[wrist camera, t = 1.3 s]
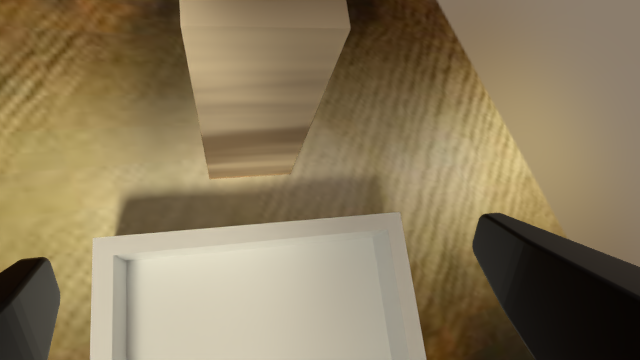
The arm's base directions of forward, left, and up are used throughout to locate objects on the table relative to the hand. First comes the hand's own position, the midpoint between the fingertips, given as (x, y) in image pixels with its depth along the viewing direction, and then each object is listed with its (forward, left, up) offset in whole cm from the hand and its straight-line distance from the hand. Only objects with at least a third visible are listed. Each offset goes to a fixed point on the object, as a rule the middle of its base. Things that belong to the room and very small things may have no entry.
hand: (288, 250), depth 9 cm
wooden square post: (+6, -6, -13) cm, 16 cm away
